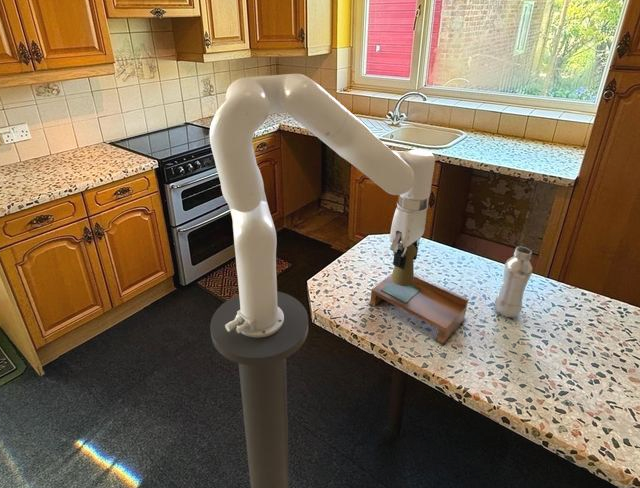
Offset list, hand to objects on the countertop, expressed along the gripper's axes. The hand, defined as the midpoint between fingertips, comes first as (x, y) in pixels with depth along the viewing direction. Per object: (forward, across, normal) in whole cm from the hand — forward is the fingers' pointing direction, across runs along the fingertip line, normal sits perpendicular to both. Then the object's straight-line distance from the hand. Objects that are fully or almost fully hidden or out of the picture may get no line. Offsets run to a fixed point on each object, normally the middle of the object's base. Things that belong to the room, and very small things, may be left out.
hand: (404, 261), depth 106 cm
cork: (+6, 0, 0) cm, 6 cm away
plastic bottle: (+15, -18, +23) cm, 32 cm away
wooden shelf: (+14, 0, +5) cm, 15 cm away
